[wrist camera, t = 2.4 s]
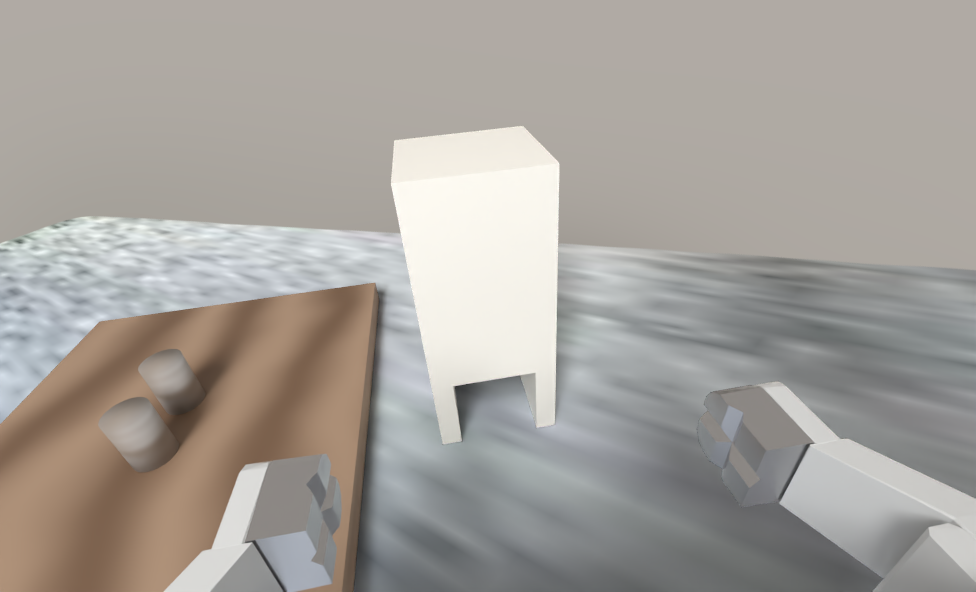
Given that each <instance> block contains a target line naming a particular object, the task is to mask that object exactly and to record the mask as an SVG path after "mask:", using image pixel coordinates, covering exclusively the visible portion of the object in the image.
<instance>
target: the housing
mask: <svg viewBox="0 0 976 592" xmlns="http://www.w3.org/2000/svg"><path fill="white" fill-rule="evenodd" d="M391 185H392V190H393V196H394V201H395V206H396V211H397V216H398V221H399V226H400V231H401V236H402V241H403V246H404V251H405V256H406V261H407V266H408V271H409V276H410V282H411V287H412V292H413V297H414V302H415V307H416V312H417V317H418V322H419V327H420V332H421V337H422V342H423V347H424V352H425V357H426V362H427V367H428V372H429V377H430V382H431V387H432V392H433V397H434V402H435V407H436V413H437V418H438V423H439V428H440V433H441V438H442V443H443V444H449V443H455V442H460V441H462V438H461V431H460V423H459V415H458V408H457V400H456V392H455V386H458V385H464V384H470V383H476V382H482V381H488V380H494V379H500V378H506V377H512V376H518V375H520V376H521V380H522V383H523V386H524V389H525V392H526V396H527V399H528V402H529V405H530V408H531V412H532V415H533V418H534V421H535V424H536V428H540V427H546V426H551V425H555V392H556V332H557V271H558V211H559V210H558V209H559V162H558V161H557V160H556V159H555V158H554V157H553V156H552V155H551V154H550V153H549V152H548V151H547V150H546V149H545V148H544V147H543V146H542V145H541V144H540V143H539V142H538V141H537V140H536V139H535V138H534V137H533V136H532V135H531V134H530V133H529V132H528V131H527V130H526V129H525V128H524V127H523V126H518V127H509V128H501V129H492V130H483V131H474V132H465V133H456V134H447V135H438V136H430V137H421V138H412V139H403V140H395V141H394V152H393V165H392V178H391Z"/></svg>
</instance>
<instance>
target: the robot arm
mask: <svg viewBox="0 0 976 592" xmlns="http://www.w3.org/2000/svg"><path fill="white" fill-rule="evenodd" d="M704 405H705V407H706V408H707V410H708V411H707V412H706V413H705V414H704V415H703V416H702V417H701V418H700V419H699V423H698V427H697V433H698V440H699V443H700V446H701V448H702V450H703V452H704V454H705V455H706V457H707V458H708V460H709V461H710V462H712V463H713V464H715V465H717V466H718V467H720V468H721V469H722V481H723V482H724V483H725V485H726V486H727V488H728V489H729V491H730V492H731V494H732V495H733V497H734V498H735V500H736V501H737V502H738V504H739V505H740V507H747V506H753V505H760V504H766V503H772V502H779V501H780V503H779V504H780V505H782V506H783V507H785V508H786V509H787V510H789V511H790V512H792V513H793V514H794V515H796V516H797V517H798V518H800V519H801V520H803V521H804V522H805V523H807V524H808V525H810V526H811V527H812V528H814V529H815V530H816V531H818V532H819V533H821V534H822V535H823V536H825V537H826V538H828V539H829V540H830V541H832V542H833V543H835V544H836V545H837V546H839V547H840V548H841V549H843V550H844V551H846V552H847V553H848V554H850V555H851V556H853V557H854V558H855V559H857V560H858V561H859V562H861V563H862V564H864V565H865V566H866V567H868V568H869V569H871V570H872V571H873V572H875V573H876V574H878V575H879V576H880V577H882V578H883V580H882V581H881V582H880V583H879V584H878V586H877V587H876V588H875V589H874V590H873V591H872V592H976V499H975V498H973V497H971V496H969V495H967V494H965V493H963V492H961V491H958V490H956V489H954V488H952V487H950V486H948V485H946V484H944V483H941V482H939V481H937V480H935V479H933V478H931V477H929V476H927V475H924V474H922V473H920V472H918V471H916V470H914V469H912V468H909V467H907V466H905V465H903V464H901V463H899V462H897V461H895V460H892V459H890V458H888V457H886V456H884V455H882V454H880V453H878V452H875V451H873V450H871V449H869V448H867V447H865V446H863V445H861V444H858V443H856V442H854V441H852V440H850V439H848V438H845V439H840V438H839V437H838V436H837V435H836V434H835V433H834V432H832V431H831V430H830V429H829V428H828V427H827V426H826V425H825V424H824V423H823V422H822V421H821V420H820V419H819V418H818V417H817V416H816V415H815V414H814V413H813V412H812V411H811V410H810V409H809V408H808V407H807V406H806V405H805V404H804V403H803V402H802V401H801V400H800V399H799V398H798V397H797V396H796V395H795V394H794V393H793V392H792V391H791V390H790V389H789V388H788V387H786V386H785V385H784V384H782V383H780V382H778V381H776V382H769V383H763V384H757V385H748V386H742V387H736V388H731V389H725V390H719V391H713V392H710V393H709V394H708V395H707V396H706V399H705V402H704ZM330 469H331V462H330V460H329V458H328V456H327V454H319V455H311V456H304V457H296V458H288V459H281V460H273V461H267V462H260V463H253V464H246V465H245V466H244V467H243V469H242V470H241V471H240V473H239V475H238V477H237V480H236V483H235V486H234V488H233V491H232V494H231V497H230V499H229V502H228V505H227V507H226V510H225V513H224V516H223V518H222V521H221V524H220V527H219V529H218V532H217V535H216V537H215V540H214V543H213V546H212V548H211V549H208V550H204V551H202V552H201V553H200V554H199V555H198V556H197V557H196V558H195V559H194V560H193V561H192V562H191V563H190V564H189V565H188V567H187V568H186V569H185V570H184V571H183V572H182V573H181V574H180V575H179V576H178V577H177V578H176V579H175V580H174V581H173V582H172V583H171V584H170V585H169V586H168V587H167V588H166V589H165V591H164V592H296V591H301V590H306V589H310V588H315V587H320V586H324V585H329V584H332V582H333V575H334V567H335V560H336V553H337V547H336V544H335V542H334V540H333V537H332V535H333V534H334V533H335V532H336V530H337V529H338V528H339V526H340V521H341V512H342V505H341V492H340V486H339V483H338V480H337V478H336V477H334V476H332V475H330Z"/></svg>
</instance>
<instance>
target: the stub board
mask: <svg viewBox="0 0 976 592" xmlns="http://www.w3.org/2000/svg"><path fill="white" fill-rule="evenodd" d="M378 306H379V296H378V292H377V288H376V284H375V283H370V284H363V285H356V286H349V287H341V288H334V289H327V290H320V291H313V292H306V293H299V294H292V295H285V296H278V297H271V298H264V299H257V300H250V301H243V302H235V303H228V304H221V305H214V306H207V307H200V308H193V309H186V310H179V311H172V312H165V313H158V314H151V315H144V316H136V317H129V318H122V319H115V320H108V321H101V322H99V323H98V324H97V325H96V326H95V327H94V328H93V329H92V330H91V331H90V332H89V333H88V334H87V335H86V336H85V337H84V338H83V339H82V340H81V342H80V343H79V344H78V345H77V346H76V347H75V348H74V349H73V350H72V351H71V352H70V353H69V354H68V355H67V356H66V357H65V358H64V359H63V360H62V361H61V362H60V363H59V364H58V365H57V366H56V367H55V368H54V369H53V370H52V371H51V373H50V374H49V375H48V376H47V377H46V378H45V379H44V380H43V381H42V382H41V383H40V384H39V385H38V386H37V387H36V388H35V389H34V390H33V391H32V392H31V393H30V394H29V395H28V396H27V397H26V398H25V399H24V400H23V401H22V402H21V403H20V405H19V406H18V407H17V408H16V409H15V410H14V411H13V412H12V413H11V414H10V415H9V416H8V417H7V418H6V419H5V420H4V421H3V422H2V423H1V424H0V592H164V591H165V589H166V588H167V587H168V586H169V585H170V584H171V583H172V582H173V581H174V580H175V579H176V578H177V577H178V576H179V575H180V574H181V573H182V572H183V571H184V570H185V569H186V568H187V567H188V565H189V564H190V563H191V562H192V561H193V560H194V559H195V558H196V557H197V556H198V555H199V554H200V553H201V552H202V551H204V550H208V549H211V548H212V546H213V543H214V540H215V537H216V535H217V532H218V529H219V527H220V524H221V521H222V518H223V516H224V513H225V510H226V507H227V505H228V502H229V499H230V497H231V494H232V491H233V488H234V486H235V483H236V480H237V477H238V475H239V473H240V471H241V470H242V469H243V467H244V466H245V465H246V464H253V463H260V462H267V461H273V460H281V459H288V458H296V457H304V456H311V455H319V454H327V456H328V458H329V460H330V462H331V469H330V475H332V476H334V477H336V478H337V480H338V483H339V486H340V492H341V505H342V512H341V521H340V526H339V528H338V529H337V530H336V532H335V533H334V534H333V535H332V537H333V540H334V542H335V544H336V547H337V553H336V560H335V567H334V575H333V582H332V584H329V585H324V586H320V587H315V588H310V589H306V590H301V591H296V592H353V590H354V579H355V568H356V556H357V545H358V533H359V522H360V511H361V499H362V488H363V477H364V465H365V454H366V442H367V431H368V420H369V408H370V397H371V386H372V374H373V363H374V351H375V340H376V329H377V317H378Z"/></svg>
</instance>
